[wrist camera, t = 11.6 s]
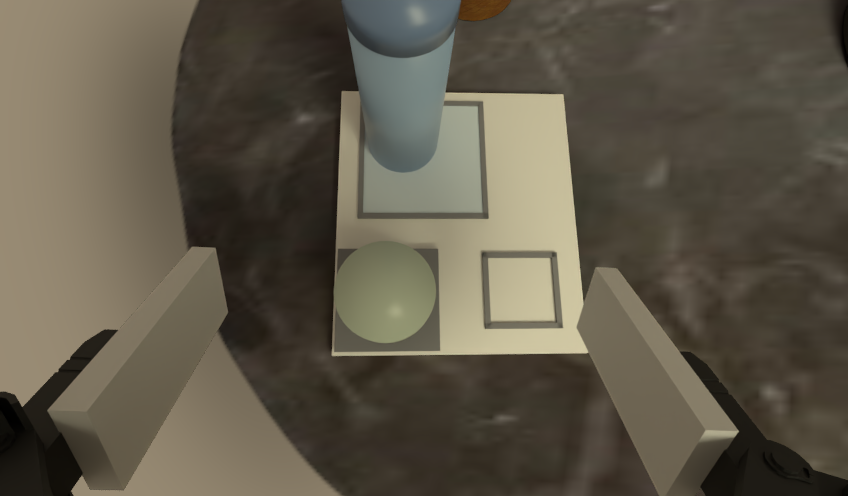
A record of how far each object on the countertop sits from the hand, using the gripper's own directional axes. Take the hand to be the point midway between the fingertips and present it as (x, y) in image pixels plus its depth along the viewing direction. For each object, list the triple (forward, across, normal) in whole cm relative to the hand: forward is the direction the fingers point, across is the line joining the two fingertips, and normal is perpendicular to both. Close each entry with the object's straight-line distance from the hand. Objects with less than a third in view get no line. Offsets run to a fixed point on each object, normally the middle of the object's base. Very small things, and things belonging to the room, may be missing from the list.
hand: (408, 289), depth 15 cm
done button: (+5, -1, -4) cm, 7 cm away
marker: (+13, 0, +1) cm, 13 cm away
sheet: (+11, +3, -2) cm, 12 cm away
